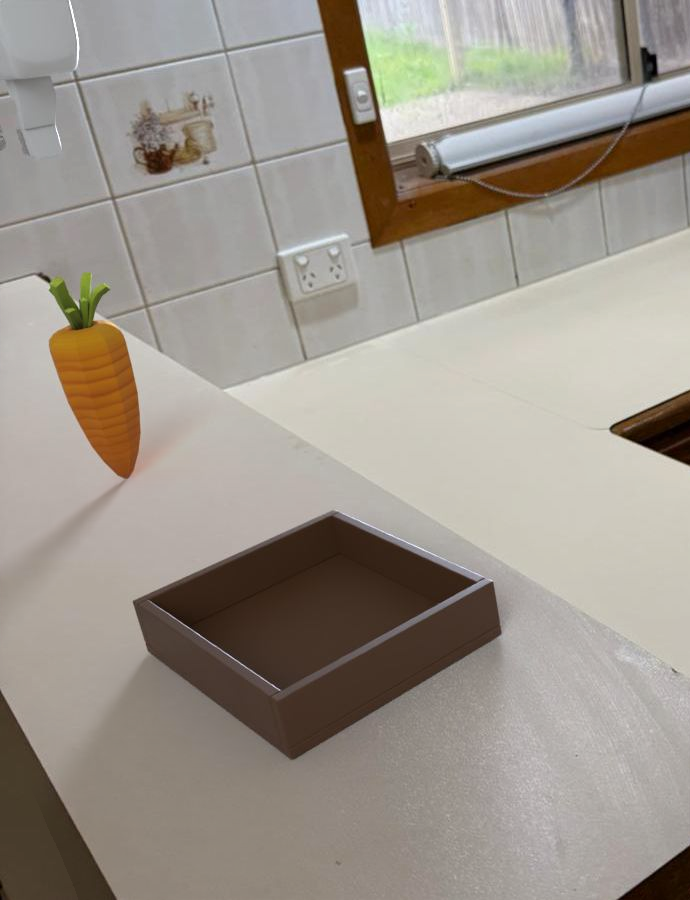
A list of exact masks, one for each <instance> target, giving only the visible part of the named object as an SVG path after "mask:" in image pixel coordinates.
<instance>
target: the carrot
mask: <svg viewBox="0 0 690 900" xmlns="http://www.w3.org/2000/svg"><path fill="white" fill-rule="evenodd" d="M92 276H93V273H92V272H90V271H89V272H88V271H86V272H85V271H84V272H82V273H81V277H80V281H79V282H80V283H79V285H80V286H79V291H80V293H79V294H80V299H79V300H78V305H79V306H78V305H77V302H76V301H75V300H74V298H73V297H72V296H71V295H70V293H69V289H68V287H67V285H66V282H65V280H64V279H63V278H62V277H59V276H57V277H55V278H53V279H51V280H50V282H49V289H48V292H50V294H51V295H52V296H53V297H54V299H55V302H56V303H57V305H58V307H59V309H60V310H61V311H62V313H63V315H64V316H65V318H66V320H67V321H68V323H69V325H66V326H65V327H63V328H60V329H58V330H57V331H55V332H54V333H53V334H52V335H51V336H50V338H49V339H48V350H49V353H50V356H51V358H52V362H53V365H54V368H55V370H56V374H57V377H58V379H59V382H60V384H61V387H62V390H63V393H64V396H65V398H66V401H67V403H68V405H69V407H70V409H71V412H72V413H73V414H74V417H75V419H76V421H77V424H78V425H79V426H80V428H81V431H82V432H83V434H84V436H85V438H86V439H87V441H88V442H89V444H90V446H91V448H92V449H93V450H94V451H95V453H96V454H97V455H98V456H99V458H100V459H101V460H102V461H103V463H104V464H106V466H107V467H108V468H109V469H111V470H112V472H113V473H115V475H116V476H117V477H121V478H122V479H125V480H127V479H129V478H130V476H131V475H132V474H133V473H134V470H135V466H136V463H137V459H138V455H139V452H140V451H139V450H140V442H141V414H140V401H139V392H138V387H137V383H136V379H135V378H136V377H135V374H134V369H133V366H132V362H131V357H130V352H129V349H128V345H127V341H126V339H125V336H124V333H123V332H122V331H121V329H120V328H119V327H118V326H117V325H116V324H115V323H113V322H111V321H109V320H105V319H101V320H100V319H99V320H98V319H97V320H95V319H94V318H95V313H96V309H97V306H98V305H99V302H100V301H101V299H102V298H103V296H105V294H107V293H109V291H111V288H110V286H109V285H107V284H106V283H104V282H102V283H100V284H98V285H97V286H96V287H95V288H93V289H92V279H93V278H92Z"/></svg>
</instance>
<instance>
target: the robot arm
mask: <svg viewBox="0 0 690 900" xmlns="http://www.w3.org/2000/svg"><path fill="white" fill-rule="evenodd" d="M79 51H80V43H79V36H78V30H77V26H76V21H75V16H74V11H73V8H72V3H71V0H0V81H4V83H5V86H6V89H7V92H8V96H9V98H10V100H11V101H14V104H15V110H16V115H17V119H18V120H17V121H18V125H19V128H18V129H16V130H15V131H16V134H17V137H18V140H19V143H20V144H21V149H22V152H23V154H24V156H25V157H27V158H29V159H32V160H45V159H50V158H55V157H58V156H60V155H61V153H62V152H63V146H62V143H61V140H60V136H59V133H58V130H57V125H56V124H57V116H56V115H57V93H56V90H55V85H54V83H53V79H52V77H51V76H55V75H56V76H57V75H60V74H66V73H72V72H75V71H76V70H77V68H78V65H79ZM6 147H7V142H6V139H5V137H4V134H3V130H2V127H1V125H0V152H3V151H5V149H6Z"/></svg>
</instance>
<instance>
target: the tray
mask: <svg viewBox="0 0 690 900" xmlns="http://www.w3.org/2000/svg"><path fill="white" fill-rule="evenodd" d="M132 604H133V608H134V611H135V614H136V618H137V622H138V624H139V627H140V631H141V634H142V637H143V640H144V643H145V647H146V651H147V652H148V653H149V654H151V656H153V657H155V658H156V659H157V660H159V661H160V662H161V663H163V664H164V665H165V666H166V667H168V668H169V669H171V670H172V671H173V672H174V673H176V674H177V675H178V676H180V677H181V678H182V679H183V680H185V681H186V682H188V683H189V684H190V685H192V686H193V687H194V688H195V689H197V690H198V691H199V692H201V693H202V694H204V695H205V696H206V697H208V699H210V700H211V701H213V702H214V703H216V704H217V705H218V706H220V707H221V708H222V709H223V710H225V711H226V712H228V713H229V714H230V715H231V716H233V717H234V718H235V719H237V720H238V721H239V722H241V723H242V724H243V725H245V726H246V727H247V728H249V729H250V730H251V731H253V732H254V733H255V734H257V735H259V737H261V738H262V739H264V740H265V742H267V743H268V744H269V745H271V746H273V747H274V748H275V749H276V750H277V751H279V752H281V753H282V754H283V755H285V756H286V757H287V758H288V759H290V760H294V759H296V758H297V757H299V756H301V755H303V754H304V753H306V752H308V751H310V750H312V749H313V748H314V747H316V746H318V745H319V744H322V743H323V742H325V741H326V740H327V739H329V738H332V737H333V736H335V735H336V734H338V733H340V732H341V731H342V730H344V729H346V728H348V727H349V726H351V725H353V724H354V723H356V722H358V721H359V720H361V719H363V718H364V717H366V716H367V715H369V714H371V713H373V712H374V711H376V710H377V709H379V708H381V707H382V706H384V705H387V704H388V703H389V702H391V701H393V700H395V699H397V698H398V697H399V696H401V695H403V694H404V693H407V692H408V691H409V690H412V689H413V688H414V687H416V686H419V684H421V683H423V682H424V681H427V680H428V679H429V678H431V677H433V676H434V675H436V674H437V673H440V672H441V671H442V670H444V669H446V668H448V667H449V666H451V665H452V664H454V663H456V662H458V661H459V660H461V659H463V658H465V657H466V656H468V655H469V654H471V653H473V652H474V651H475V650H478V649H479V648H481V647H482V646H484V645H486V644H488V643H489V642H491V641H492V640H494V639H496V638H498V637H499V636H501V635H502V628H501V627H502V626H501V620H500V615H499V614H500V613H499V608H498V601H497V596H496V589H495V582H494V581H493V580H492V579H489V578H486V577H484V576H483V575H481V574H479V573H476V572H473V571H471V570H469V569H467V568H466V567H462V566H461V565H459V564H456V563H454V562H451V561H449V560H447V559H445V558H443V557H441V556H438V555H436V554H434V553H432V552H430V551H427V550H425V549H423V548H421V547H419V546H416V545H414V544H412V543H409V542H407V541H405V540H404V539H401V538H399V537H396V536H394V535H392V534H389V533H388V532H385V531H383V530H381V529H379V528H377V527H375V526H372V525H370V524H368V523H365V522H363V521H361V520H359V519H356V518H354V517H352V516H350V515H347V514H346V513H343V512H340V511H339V510H337V509H332V510H330V511H327V512H325V513H322V514H320V515H318V516H316V517H314V518H312V519H310V520H307V521H305V522H303V523H301V524H299V525H297V526H294V527H292V528H290V529H288V530H286V531H284V532H280V533H279V534H277V535H274V536H273V537H270V538H268V539H266V540H263V541H261V542H260V543H257V544H255V545H252V546H251V547H248V548H246V549H243V550H242V551H240V552H237V553H235V554H233V555H231V556H228V557H226V558H224V559H221V560H220V561H217V562H214V563H213V564H211V565H208V566H206V567H204V568H202V569H199V570H198V571H195V572H193V573H191V574H188V575H187V576H184V577H182V578H180V579H177V580H175V581H173V582H171V583H168V584H167V585H164V586H162V587H160V588H158V589H156V590H154V591H151V592H149V593H147V594H145V595H142V596H140V597H138V598H136V599H134V600H132Z"/></svg>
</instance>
